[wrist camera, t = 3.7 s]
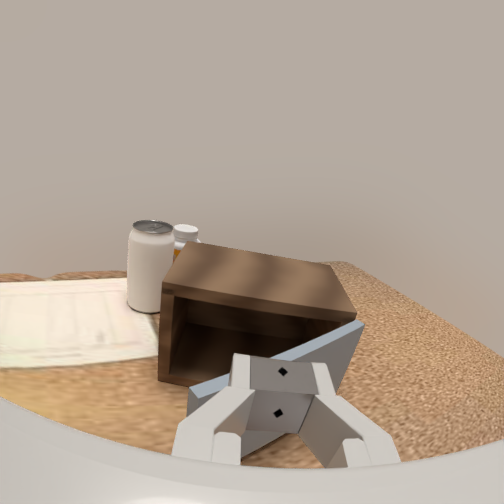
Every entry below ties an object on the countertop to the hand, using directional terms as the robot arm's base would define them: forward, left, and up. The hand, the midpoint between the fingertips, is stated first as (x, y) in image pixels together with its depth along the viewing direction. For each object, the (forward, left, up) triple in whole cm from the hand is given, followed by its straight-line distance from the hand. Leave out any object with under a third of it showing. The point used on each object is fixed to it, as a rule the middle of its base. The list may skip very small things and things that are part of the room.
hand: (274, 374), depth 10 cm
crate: (-3, +23, -18) cm, 29 cm away
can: (-19, +30, -18) cm, 40 cm away
